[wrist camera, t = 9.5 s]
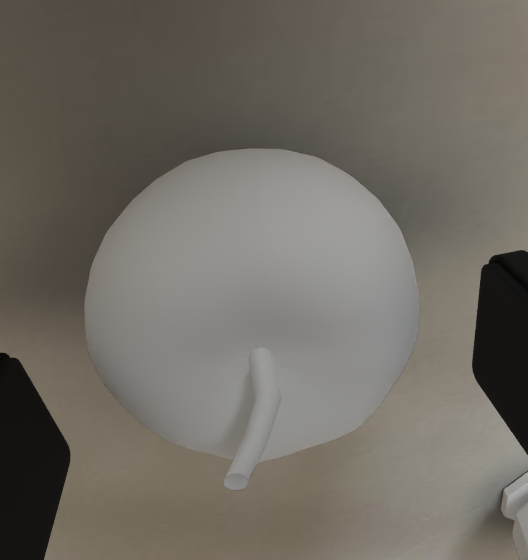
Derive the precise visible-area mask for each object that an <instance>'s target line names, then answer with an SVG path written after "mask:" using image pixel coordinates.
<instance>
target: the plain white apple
mask: <svg viewBox="0 0 528 560" xmlns="http://www.w3.org/2000/svg"><path fill="white" fill-rule="evenodd" d="M84 316H85V335H86V344H87V349H88V353H89V355H90V357H91V360H92V362H93V364H94V366H95V368H96V370H97V373H98V375H99V377H100V379H101V380H102V382H103V384H104V386H105V387H106V388H107V389H108V390H109V391H110V393H111V394H112V395H113V396H114V397H115V398H116V399H117V400H118V401H119V403H120V404H121V405H122V406H123V407H124V408H125V409H126V410H127V411H128V412H130V413H131V414H132V415H133V416H134V417H135V418H136V419H137V420H138V421H140V422H141V423H142V424H143V425H144V426H145V427H146V428H148V429H149V430H151V431H152V432H154V433H155V434H157V435H158V436H160V437H161V438H163V439H165V440H166V441H168V442H170V443H173V444H175V445H178V446H181V447H184V448H188V449H191V450H194V451H198V452H203V453H207V454H212V455H216V456H219V457H223V458H226V459H230V460H233V461H232V463H231V465H230V467H229V469H228V471H227V473H226V475H225V478H224V485H225V487H227V488H228V489H230V490H236V491H237V490H242V489H244V488H245V487H246V486H247V484H248V482H249V480H250V478H251V476H252V474H253V472H254V470H255V468H256V466H257V464H258V463H259V462H264V461H268V460H272V459H277V458H281V457H284V456H287V455H290V454H293V453H296V452H298V451H301V450H304V449H307V448H310V447H313V446H316V445H320V444H323V443H326V442H329V441H332V440H335V439H337V438H339V437H341V436H343V435H346V434H348V433H350V432H352V431H354V430H356V429H358V428H359V427H360V426H361V425H362V424H363V423H364V422H365V421H366V420H367V419H368V418H369V417H370V416H371V415H372V414H373V413H374V412H375V411H376V410H377V409H378V408H379V406H380V405H381V403H382V402H383V400H384V399H385V397H386V396H387V394H388V393H389V391H390V390H391V388H392V387H393V385H394V384H395V382H396V381H397V379H398V378H399V376H400V375H401V373H402V372H403V370H404V369H405V366H406V364H407V362H408V360H409V357H410V355H411V352H412V350H413V348H414V345H415V343H416V341H417V335H418V326H419V294H418V287H417V282H416V276H415V271H414V265H413V261H412V258H411V256H410V253H409V251H408V248H407V245H406V243H405V240H404V238H403V235H402V233H401V230H400V228H399V226H398V225H397V224H396V222H395V221H394V220H393V218H392V217H391V216H390V214H389V213H388V212H387V210H386V209H385V207H384V206H383V205H382V203H381V202H380V201H379V200H378V198H377V197H375V196H374V195H373V194H372V193H371V192H370V191H369V190H367V189H366V188H365V187H364V186H363V185H362V184H360V183H359V182H358V181H357V180H356V179H355V178H353V177H352V176H351V175H349V174H348V173H346V172H344V171H342V170H341V169H339V168H337V167H335V166H333V165H331V164H329V163H328V162H326V161H324V160H322V159H320V158H318V157H315V156H311V155H306V154H302V153H297V152H293V151H289V150H284V149H255V148H249V149H239V150H229V151H220V152H215V153H212V154H208V155H205V156H201V157H198V158H195V159H191V160H188V161H186V162H184V163H182V164H181V165H179V166H177V167H176V168H174V169H172V170H171V171H169V172H167V173H166V174H164V175H162V176H161V177H159V178H157V179H156V180H154V181H153V182H152V183H151V184H150V185H149V186H148V187H146V188H145V189H144V190H143V191H142V192H141V193H140V194H139V195H138V196H136V197H135V198H134V199H133V200H132V201H131V202H130V203H129V204H128V206H127V207H126V208H125V209H124V211H123V212H122V213H121V214H120V216H119V217H118V218H117V219H116V221H115V222H114V223H113V224H112V226H111V227H110V228H109V230H108V231H107V232H106V234H105V236H104V238H103V241H102V243H101V245H100V247H99V249H98V251H97V254H96V256H95V258H94V261H93V264H92V266H91V270H90V275H89V280H88V286H87V291H86V296H85V305H84Z"/></svg>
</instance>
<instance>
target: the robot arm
mask: <svg viewBox="0 0 528 560" xmlns="http://www.w3.org/2000/svg"><path fill="white" fill-rule="evenodd" d="M472 368H473V373H474V376H475V379H476V381H477V382H478V384H479V385H480V387H481V388H482V390H483V391H484V392H485V394H486V395H487V397H488V398H489V400H490V401H491V403H492V404H493V406H494V407H495V408H496V410H497V411H498V413H499V414H500V416H501V417H502V419H503V420H504V421H505V423H506V424H507V426H508V427H509V429H510V430H511V432H512V433H513V434H514V436H515V437H516V439H517V440H518V442H519V443H520V445H521V446H522V447H523V449H524V450H525V452H526V453H527V455H528V252H526V251H524V250H519V251H514V252H509V253H504V254H499V255H494V256H493V257H491V259H490V261H489V264H486V265H484V266H483V268H482V271H481V280H480V290H479V300H478V310H477V320H476V330H475V340H474V350H473V360H472ZM69 464H70V450H69V446H68V444H67V442H66V440H65V439H64V437H63V435H62V433H61V432H60V430H59V428H58V427H57V425H56V423H55V421H54V420H53V418H52V416H51V414H50V413H49V411H48V409H47V407H46V406H45V404H44V402H43V401H42V399H41V397H40V395H39V394H38V392H37V390H36V388H35V387H34V385H33V383H32V381H31V380H30V378H29V376H28V375H27V373H26V371H25V369H24V368H23V366H22V364H21V363H20V361H19V360H18V359H17V358H10V356H9V355H7V354H6V353H0V560H44V557H45V553H46V550H47V546H48V542H49V538H50V535H51V531H52V527H53V524H54V520H55V516H56V512H57V509H58V505H59V501H60V498H61V494H62V490H63V487H64V483H65V479H66V475H67V472H68V468H69Z"/></svg>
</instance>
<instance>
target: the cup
mask: <svg viewBox="0 0 528 560" xmlns="http://www.w3.org/2000/svg"><path fill="white" fill-rule="evenodd" d="M501 511H502V513H503V515H504V516H505V517H507V518H509V519H512V520H515V522H514V527H513V533H512V536H513V539H514V543H515V546H516V550H517V553H518V557H519V560H528V472H527V473H525V474H524V475H523V476H521V477H520V478H519V479H517V480H516V481H515V482H513V483H512V484H511V485H509V486H508V487H506V488H505V489H504V491H503V498H502V504H501Z"/></svg>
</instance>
